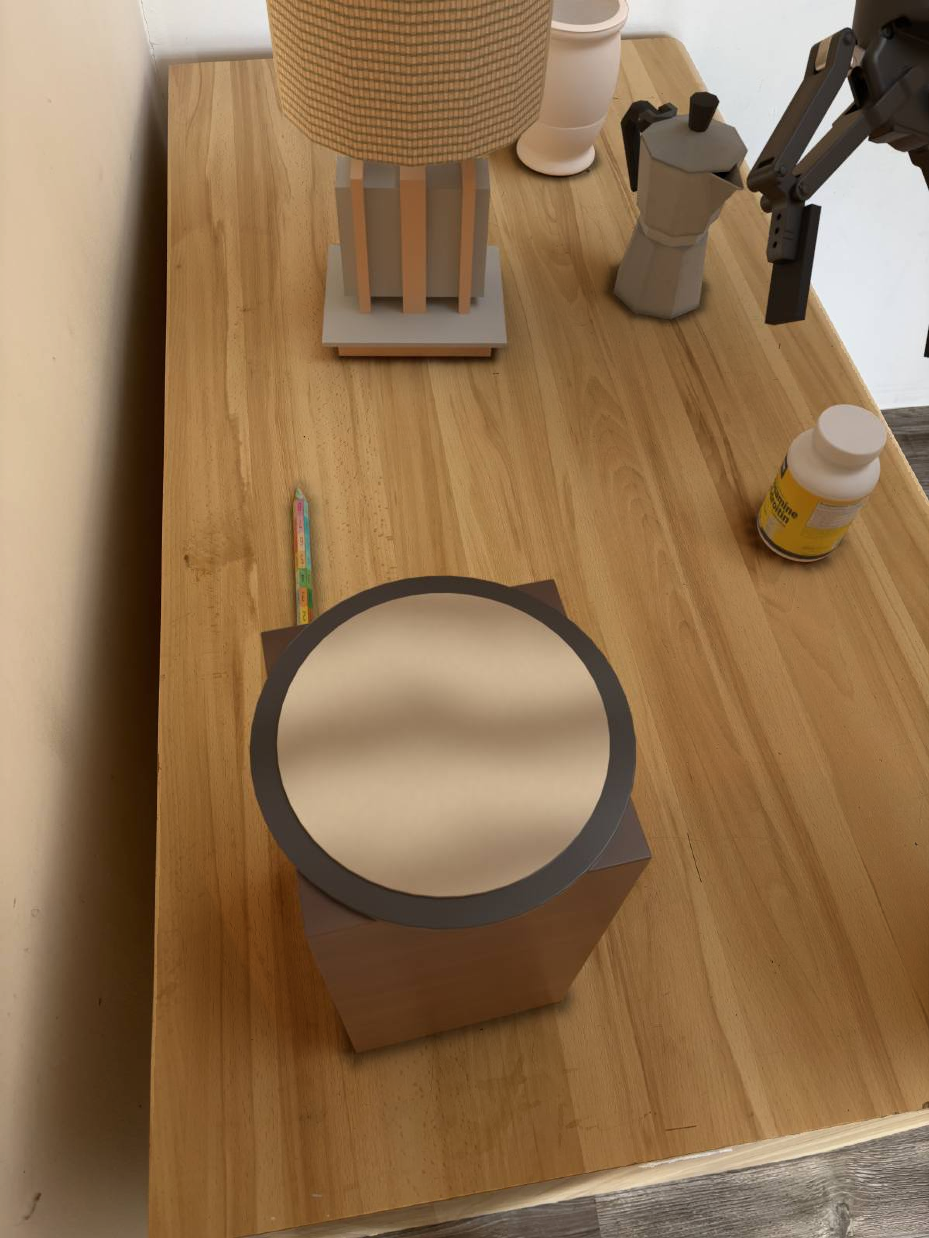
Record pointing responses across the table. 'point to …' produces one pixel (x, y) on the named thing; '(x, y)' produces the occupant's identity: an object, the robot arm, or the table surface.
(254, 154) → the table surface
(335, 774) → the tall brown block
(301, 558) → the pencil
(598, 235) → the table surface
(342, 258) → the desk lamp
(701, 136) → the coffee maker
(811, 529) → the pill bottle
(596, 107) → the jar
